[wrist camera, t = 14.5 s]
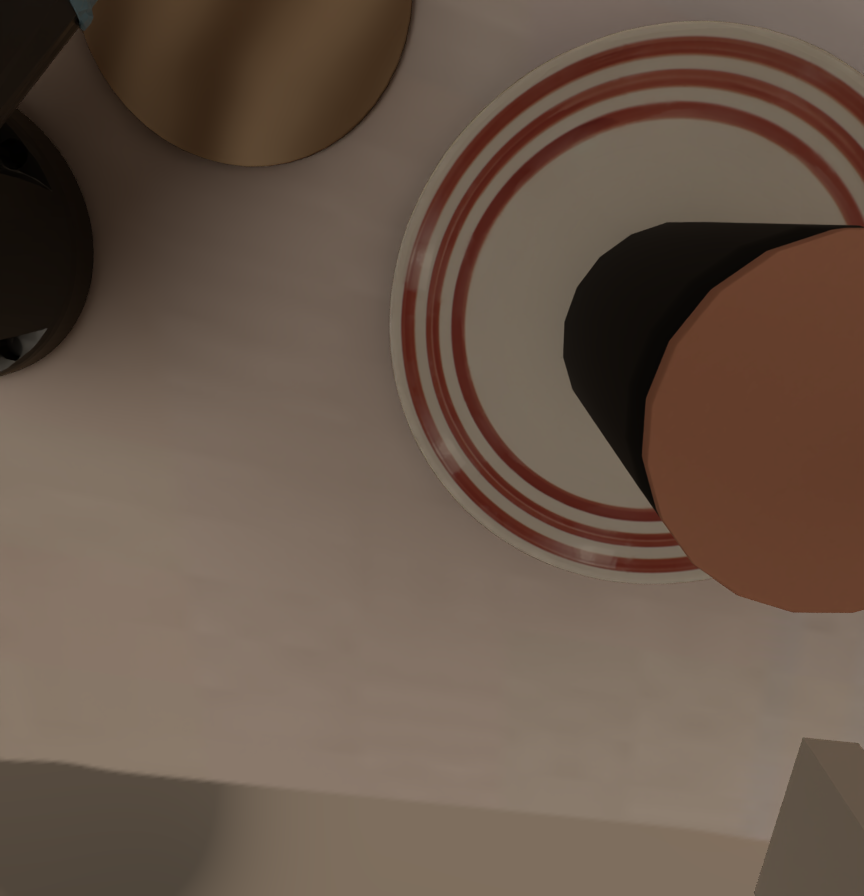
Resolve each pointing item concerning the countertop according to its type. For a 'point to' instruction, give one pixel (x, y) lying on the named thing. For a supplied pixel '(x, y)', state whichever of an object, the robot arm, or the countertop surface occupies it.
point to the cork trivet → (249, 70)
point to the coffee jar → (737, 397)
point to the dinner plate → (595, 259)
